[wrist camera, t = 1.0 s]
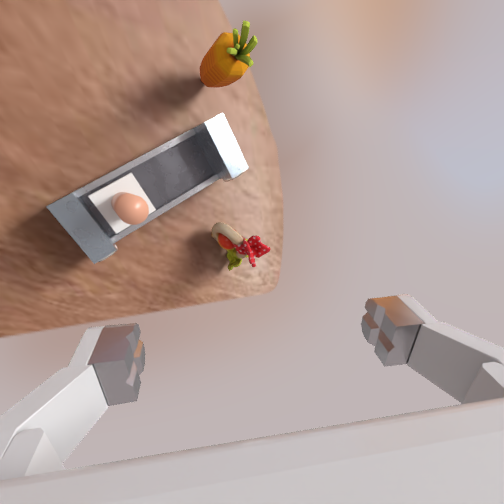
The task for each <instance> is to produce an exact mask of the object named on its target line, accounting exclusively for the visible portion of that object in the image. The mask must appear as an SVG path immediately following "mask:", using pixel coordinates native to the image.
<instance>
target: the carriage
mask: <svg viewBox="0 0 504 504" xmlns="http://www.w3.org/2000/svg"><path fill="white" fill-rule="evenodd" d="M88 197H89V198H90V200H91V201H92V202H93V203H94V205H95V206H96V207H97V209H98V210H99V211H100V213H101V214H102V215H103V217H104V218H105V219H106V221H107V222H108V223H109V225H110V226H111V227H112V229H113V230H114V231H115V233H116V234H117V233H119V232H120V231H122V230H124V229H125V228H127V227H129V226H130V225H137V224H140V223H142V222H143V221H145V220H146V218H147V216H148V215H149V214H150V213H152V212H154V211H155V210H156V209H155V208H154V206H153V205H152V203H151V201H150V200H149V198H148V197H147V195H146V194H145V192H144V191H143V189H142V188H141V186H140V185H139V183H138V182H137V180H136V179H135V177H134V176H133V174H132V173H129V174H127V175H125V176H123V177H121V178H120V179H118V180H116V181H114V182H112V183H110V184H109V185H107V186H105V187H103V188H101V189H99V190H98V191H96V192H94V193H92V194H90V195H88Z"/></svg>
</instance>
